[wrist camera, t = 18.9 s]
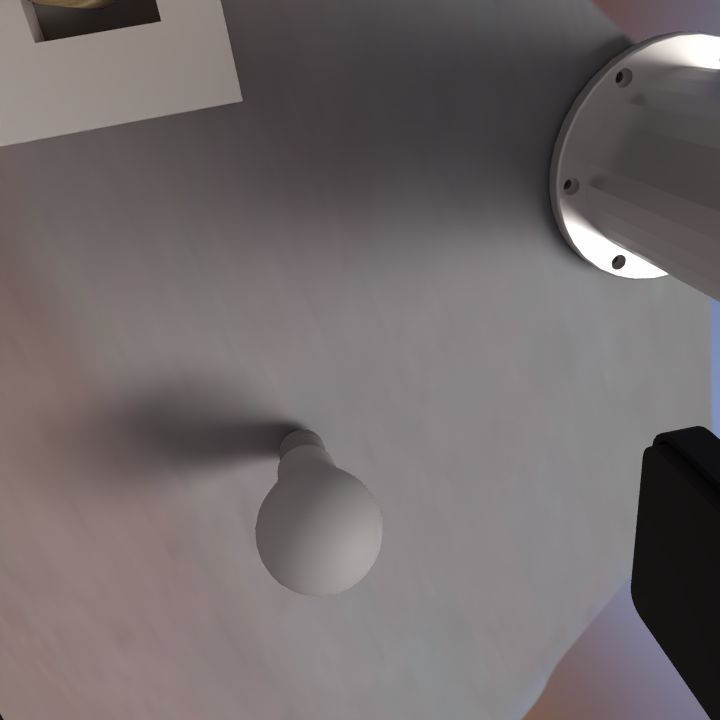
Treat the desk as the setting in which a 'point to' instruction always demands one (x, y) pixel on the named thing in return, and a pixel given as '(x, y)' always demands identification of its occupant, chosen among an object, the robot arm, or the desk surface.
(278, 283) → the desk surface
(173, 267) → the desk surface
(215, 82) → the board
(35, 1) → the pin
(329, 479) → the lightbulb
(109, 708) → the desk surface
